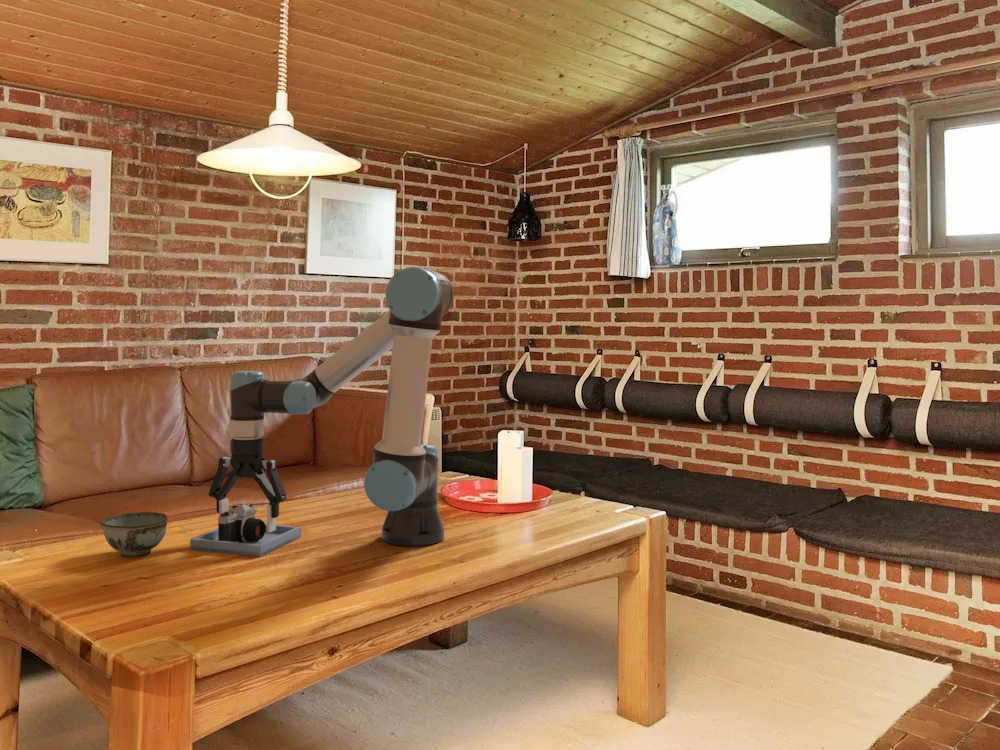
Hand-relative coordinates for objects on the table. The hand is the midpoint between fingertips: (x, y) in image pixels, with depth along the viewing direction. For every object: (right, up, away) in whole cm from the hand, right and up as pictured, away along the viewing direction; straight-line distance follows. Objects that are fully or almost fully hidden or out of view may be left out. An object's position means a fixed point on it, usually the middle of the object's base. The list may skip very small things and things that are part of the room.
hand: (247, 529), depth 194 cm
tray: (0, -3, 0) cm, 3 cm away
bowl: (-22, -4, -10) cm, 24 cm away
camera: (0, -3, -1) cm, 3 cm away
